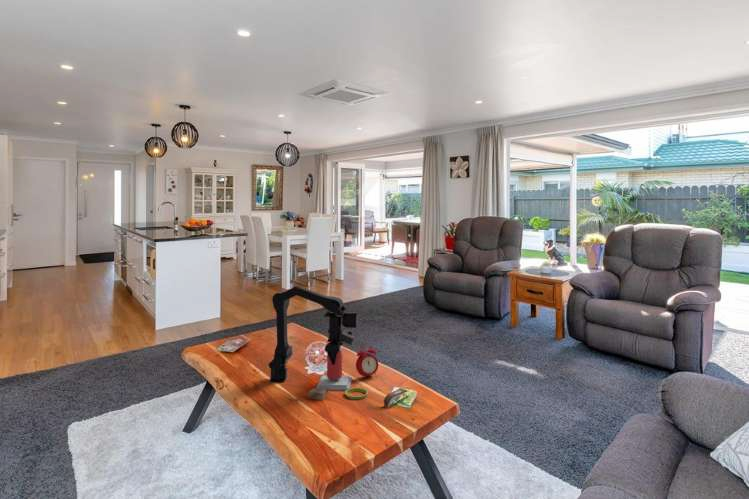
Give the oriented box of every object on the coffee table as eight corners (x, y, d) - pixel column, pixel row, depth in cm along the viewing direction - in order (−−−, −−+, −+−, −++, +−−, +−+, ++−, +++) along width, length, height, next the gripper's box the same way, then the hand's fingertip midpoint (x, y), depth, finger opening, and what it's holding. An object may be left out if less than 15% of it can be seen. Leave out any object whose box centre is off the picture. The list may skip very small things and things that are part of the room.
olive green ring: (370, 408, 174) (370, 388, 174) (364, 418, 165) (364, 397, 165) (349, 406, 177) (348, 386, 176) (342, 416, 167) (341, 395, 167)
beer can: (330, 381, 178) (330, 353, 178) (324, 376, 184) (325, 349, 183) (344, 378, 181) (344, 351, 181) (338, 374, 187) (338, 347, 186)
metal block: (308, 399, 166) (308, 391, 166) (312, 395, 170) (312, 388, 170) (322, 400, 165) (322, 393, 165) (326, 397, 169) (326, 389, 169)
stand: (316, 389, 176) (316, 385, 176) (321, 378, 190) (321, 374, 190) (348, 390, 175) (349, 386, 175) (351, 379, 189) (351, 374, 189)
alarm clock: (360, 381, 187) (360, 348, 186) (354, 376, 193) (354, 344, 192) (380, 377, 192) (380, 345, 191) (374, 373, 197) (374, 342, 197)
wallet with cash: (404, 405, 176) (405, 385, 176) (410, 407, 174) (411, 387, 174) (381, 416, 165) (381, 395, 165) (387, 418, 163) (388, 397, 163)
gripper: (351, 332, 172) (351, 369, 173) (355, 322, 191) (354, 356, 191) (324, 331, 172) (324, 368, 173) (330, 322, 191) (330, 355, 192)
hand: (334, 362), depth 182 cm, fingers closed on beer can, 6 cm apart
